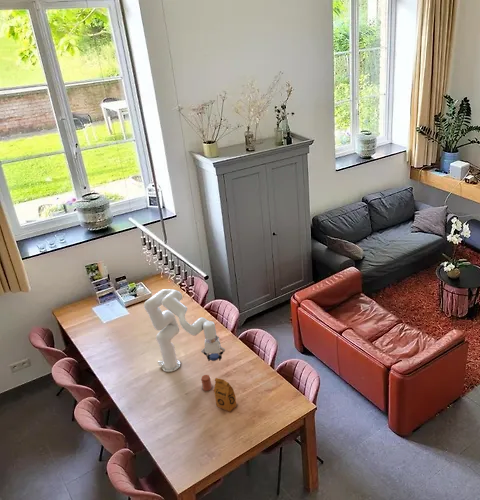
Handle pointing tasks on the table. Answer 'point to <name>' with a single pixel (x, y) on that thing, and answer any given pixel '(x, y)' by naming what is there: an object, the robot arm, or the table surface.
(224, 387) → the coffee package
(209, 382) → the jar
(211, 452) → the table surface
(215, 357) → the lid
